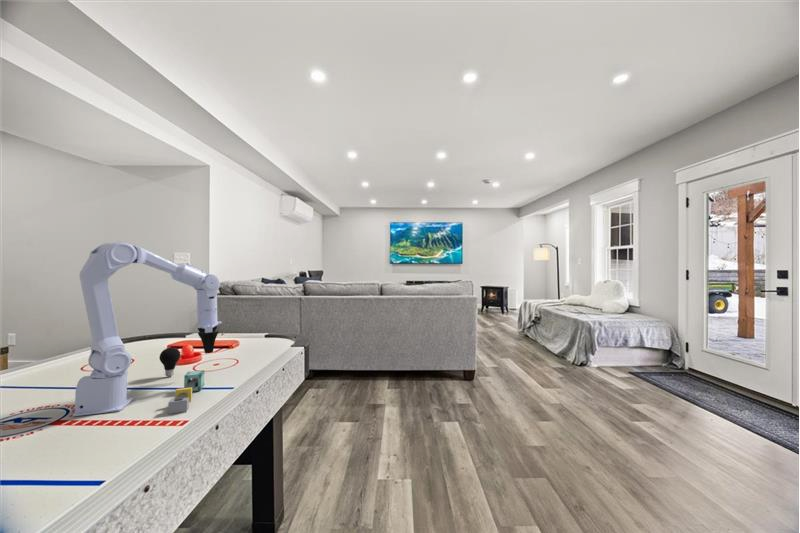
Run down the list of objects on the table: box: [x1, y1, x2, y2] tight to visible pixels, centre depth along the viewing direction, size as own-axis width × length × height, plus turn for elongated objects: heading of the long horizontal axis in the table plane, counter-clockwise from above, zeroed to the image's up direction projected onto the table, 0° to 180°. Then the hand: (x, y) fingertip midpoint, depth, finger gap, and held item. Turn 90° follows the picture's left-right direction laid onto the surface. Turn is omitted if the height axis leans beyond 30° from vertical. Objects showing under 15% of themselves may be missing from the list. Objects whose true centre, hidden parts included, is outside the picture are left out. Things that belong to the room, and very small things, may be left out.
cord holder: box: [167, 378, 198, 415], centre depth 90 cm, size 21×4×4 cm, turn 21°
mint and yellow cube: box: [183, 370, 205, 392], centre depth 96 cm, size 4×4×5 cm
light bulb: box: [159, 347, 181, 378], centre depth 108 cm, size 6×6×10 cm
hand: (208, 350), depth 105 cm, fingers open, 7 cm apart
